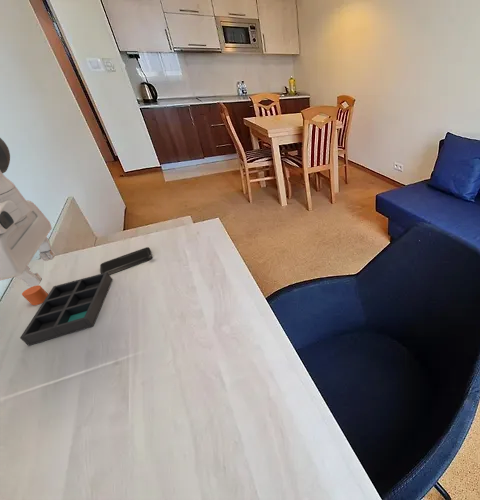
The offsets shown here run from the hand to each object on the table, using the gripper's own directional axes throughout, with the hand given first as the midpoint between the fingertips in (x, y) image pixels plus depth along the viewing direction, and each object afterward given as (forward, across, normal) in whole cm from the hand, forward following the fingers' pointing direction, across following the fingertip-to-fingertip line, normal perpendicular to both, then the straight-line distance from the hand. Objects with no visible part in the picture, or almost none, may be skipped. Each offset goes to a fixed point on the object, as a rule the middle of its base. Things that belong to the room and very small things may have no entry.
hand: (43, 270), depth 61 cm
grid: (+24, -20, -10) cm, 32 cm away
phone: (+24, -38, +2) cm, 45 cm away
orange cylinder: (+24, -31, -21) cm, 44 cm away
